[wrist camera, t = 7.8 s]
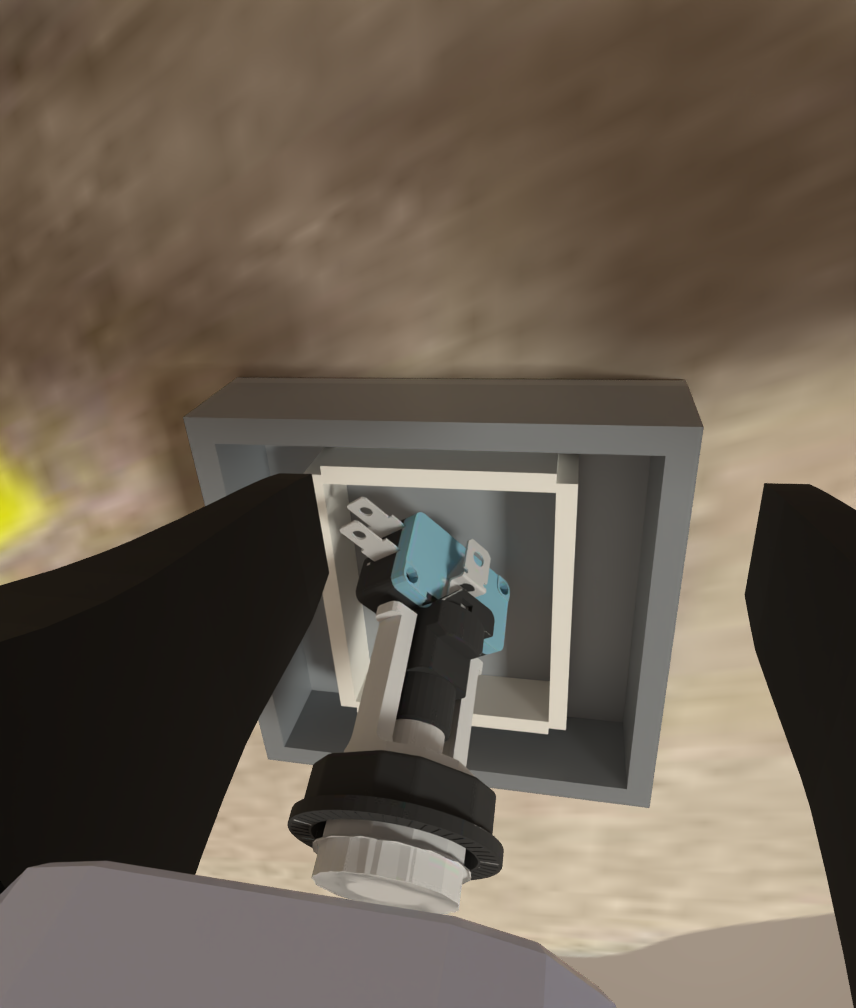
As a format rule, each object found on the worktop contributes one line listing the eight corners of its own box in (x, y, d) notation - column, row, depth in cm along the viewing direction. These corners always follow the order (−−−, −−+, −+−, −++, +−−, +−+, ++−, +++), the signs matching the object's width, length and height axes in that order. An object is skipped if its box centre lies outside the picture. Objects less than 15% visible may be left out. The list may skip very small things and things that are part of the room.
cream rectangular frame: (579, 445, 21) (578, 474, 19) (567, 695, 26) (565, 736, 24) (323, 438, 22) (301, 465, 21) (357, 674, 27) (342, 711, 26)
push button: (305, 516, 22) (184, 845, 16) (424, 451, 19) (334, 831, 13) (440, 615, 25) (385, 922, 19) (560, 574, 22) (544, 925, 16)
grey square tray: (685, 380, 20) (703, 426, 17) (642, 729, 26) (649, 807, 23) (236, 377, 22) (183, 417, 19) (300, 693, 29) (268, 759, 26)
